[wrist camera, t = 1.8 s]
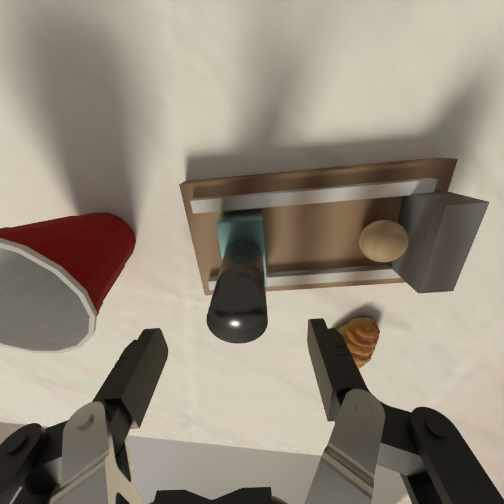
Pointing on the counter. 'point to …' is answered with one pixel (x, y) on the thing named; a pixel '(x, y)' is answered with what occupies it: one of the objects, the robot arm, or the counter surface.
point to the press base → (341, 223)
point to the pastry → (360, 338)
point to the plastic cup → (58, 279)
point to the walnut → (383, 241)
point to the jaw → (240, 279)
